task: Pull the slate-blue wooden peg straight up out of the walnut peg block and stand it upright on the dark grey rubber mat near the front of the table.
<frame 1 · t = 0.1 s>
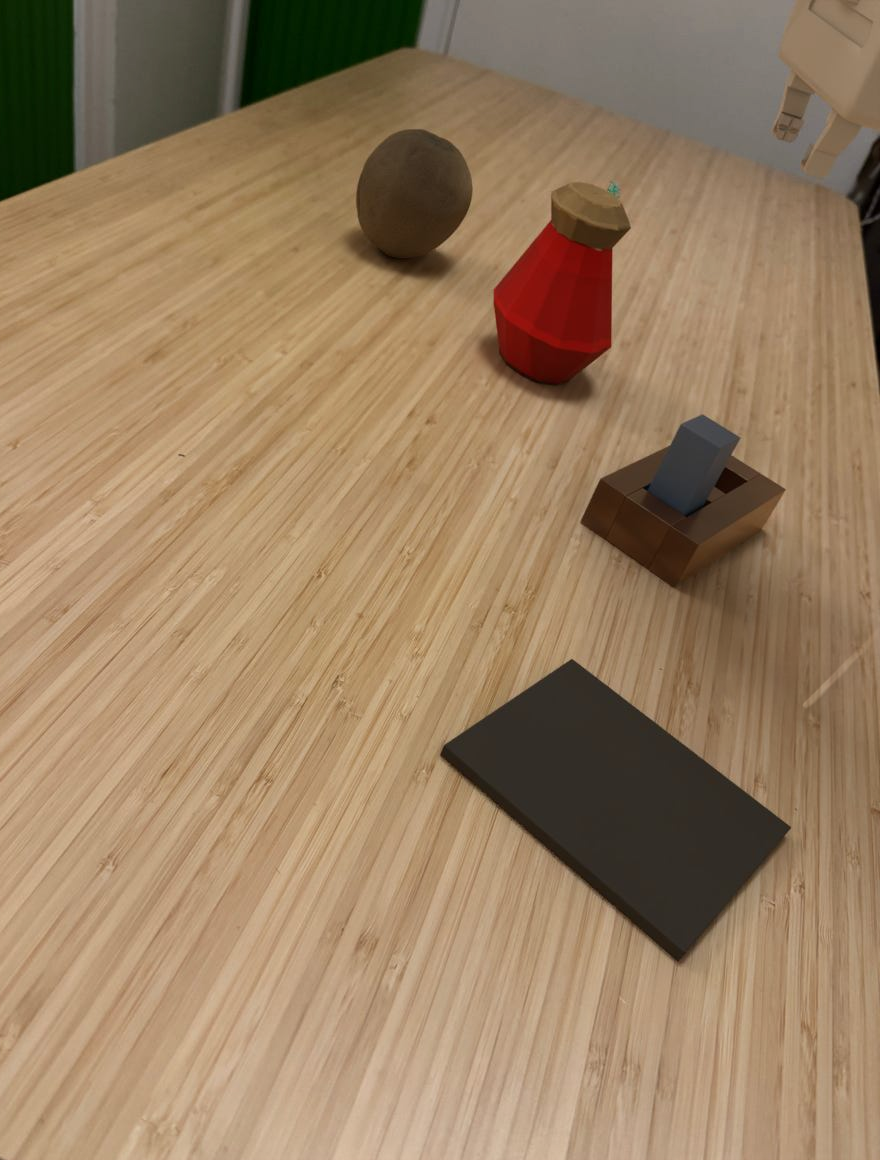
hand: (795, 155, 81), 34 cm above the table, tool pointing down, fingers open, 8 cm apart
peg block: (674, 525, 103), on the table
anatomy model: (589, 206, 176), on the table
cantaloupe: (397, 254, 137), on the table
bottle: (533, 365, 122), on the table
peg: (655, 537, 100), resting in peg block
mat: (615, 795, 72), on the table
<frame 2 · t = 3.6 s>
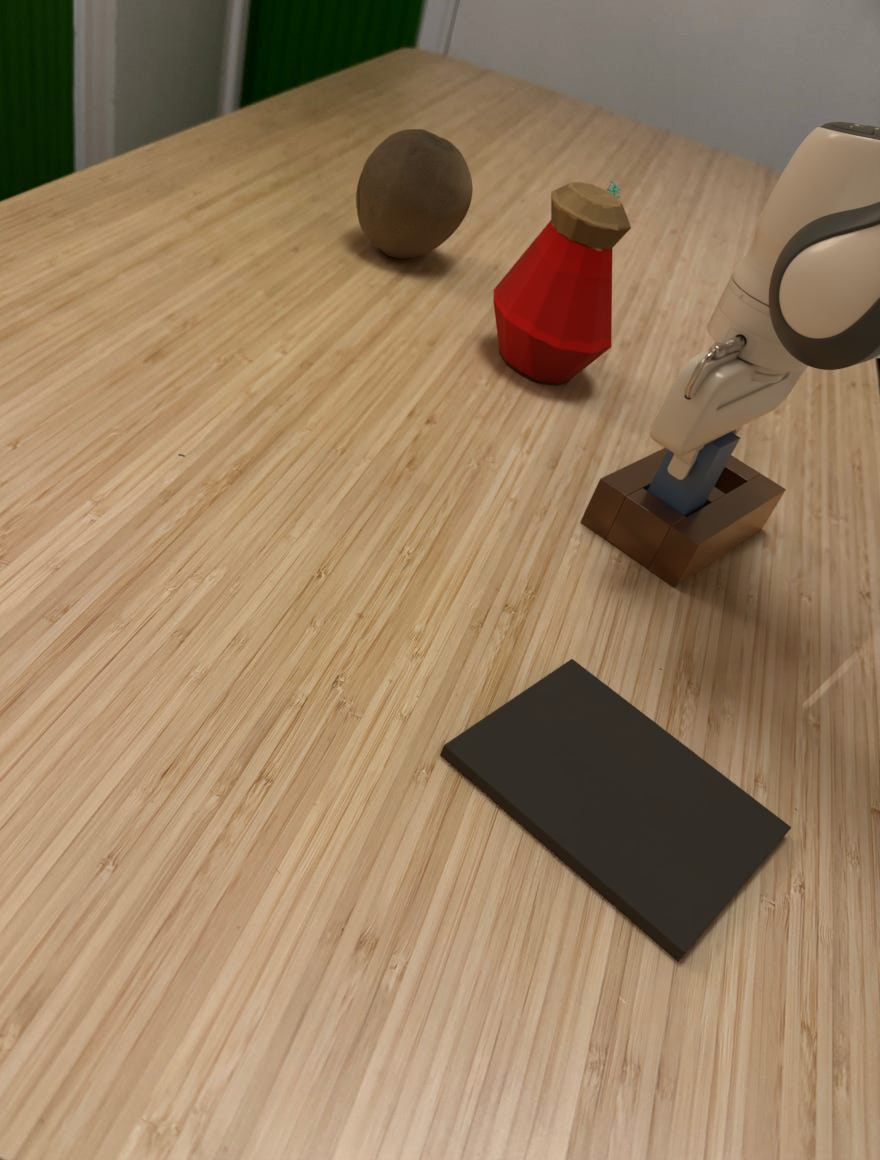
hand: (692, 467, 95), 8 cm above the table, tool pointing down, fingers closed on peg, 4 cm apart
peg: (655, 537, 100), resting in peg block, touching gripper
everything else where it was.
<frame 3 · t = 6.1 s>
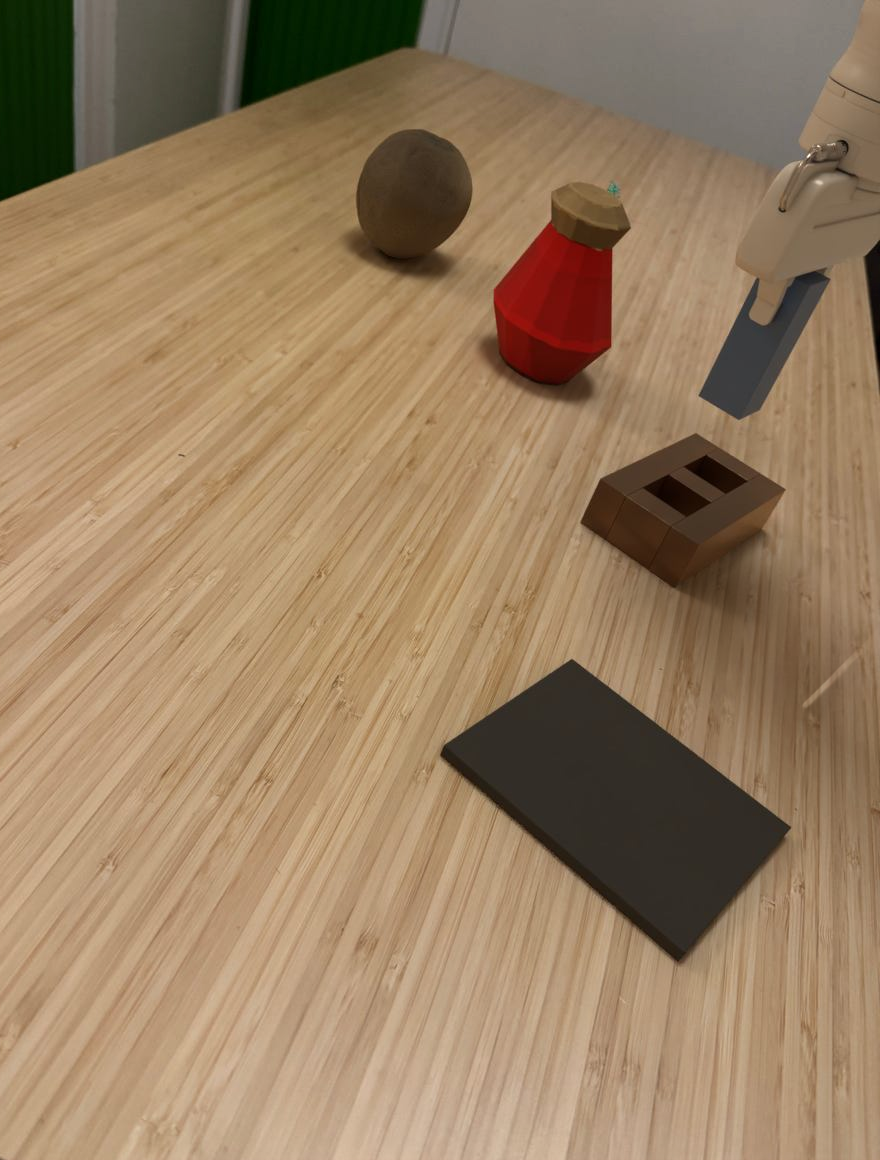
hand: (774, 316, 84), 23 cm above the table, tool pointing down, fingers closed on peg, 4 cm apart
peg: (729, 403, 90), point 15 cm above the table, touching gripper
everything else where it was.
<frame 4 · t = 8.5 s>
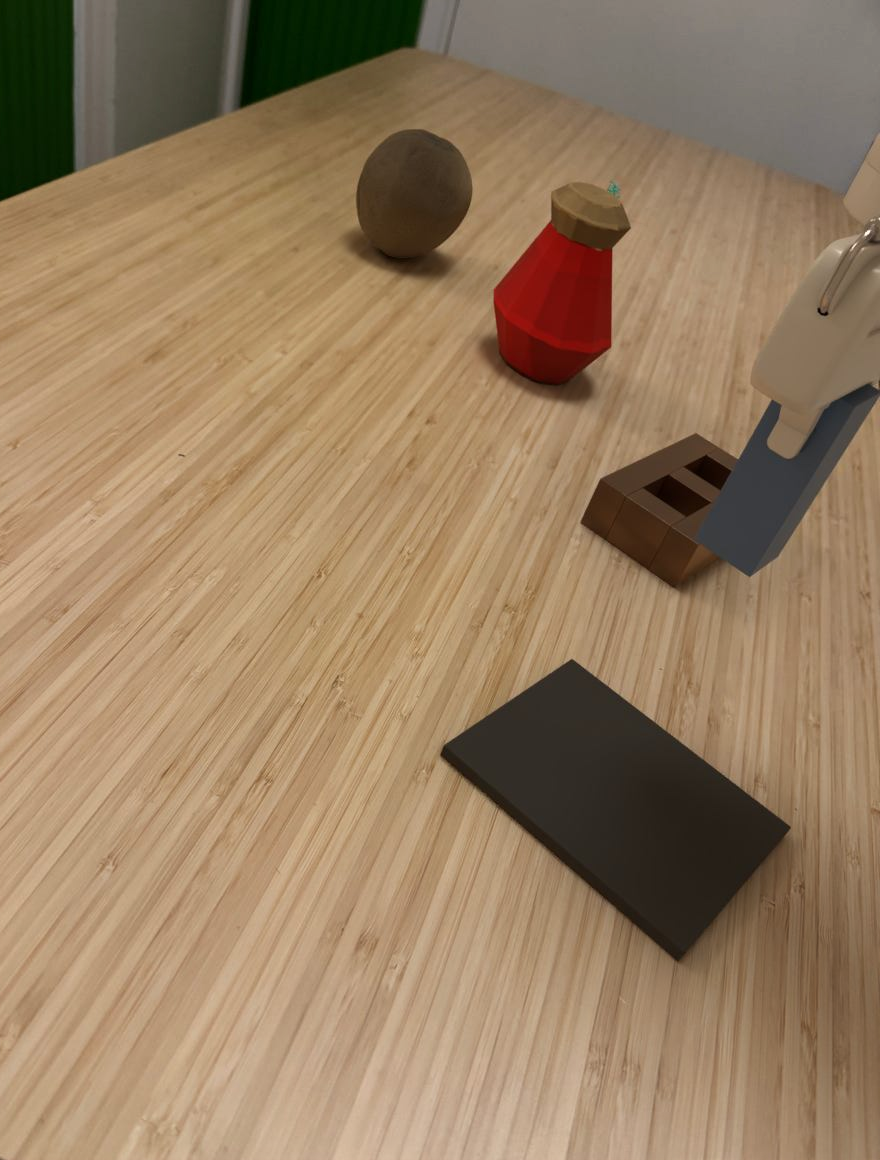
hand: (802, 439, 60), 26 cm above the table, tool pointing down, fingers closed on peg, 4 cm apart
peg: (736, 548, 65), point 18 cm above the table, touching gripper
everything else where it was.
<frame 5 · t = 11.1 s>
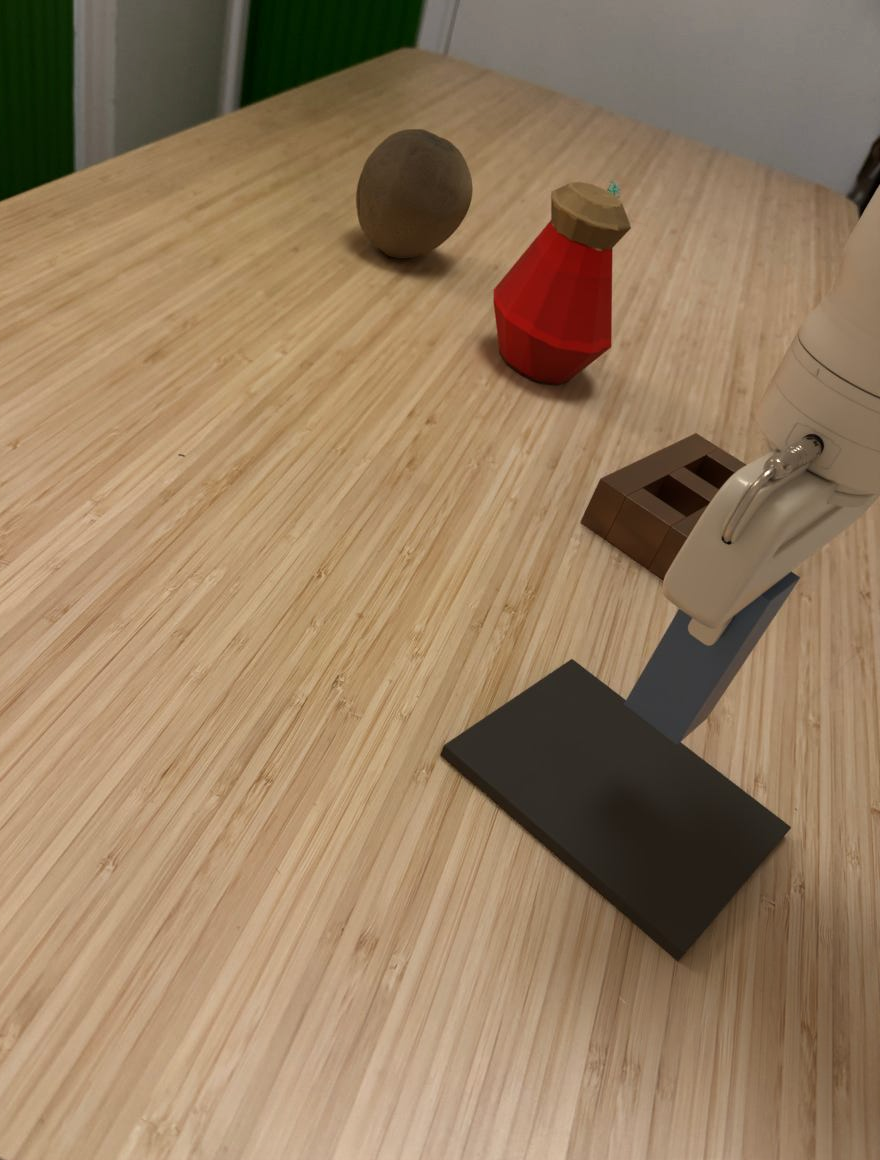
hand: (724, 618, 62), 17 cm above the table, tool pointing down, fingers closed on peg, 4 cm apart
peg: (665, 711, 67), point 9 cm above the table, touching gripper
everything else where it was.
when the fingers open (9 cm above the table, at t = 13.3 s): peg stays where it is, resting on mat.
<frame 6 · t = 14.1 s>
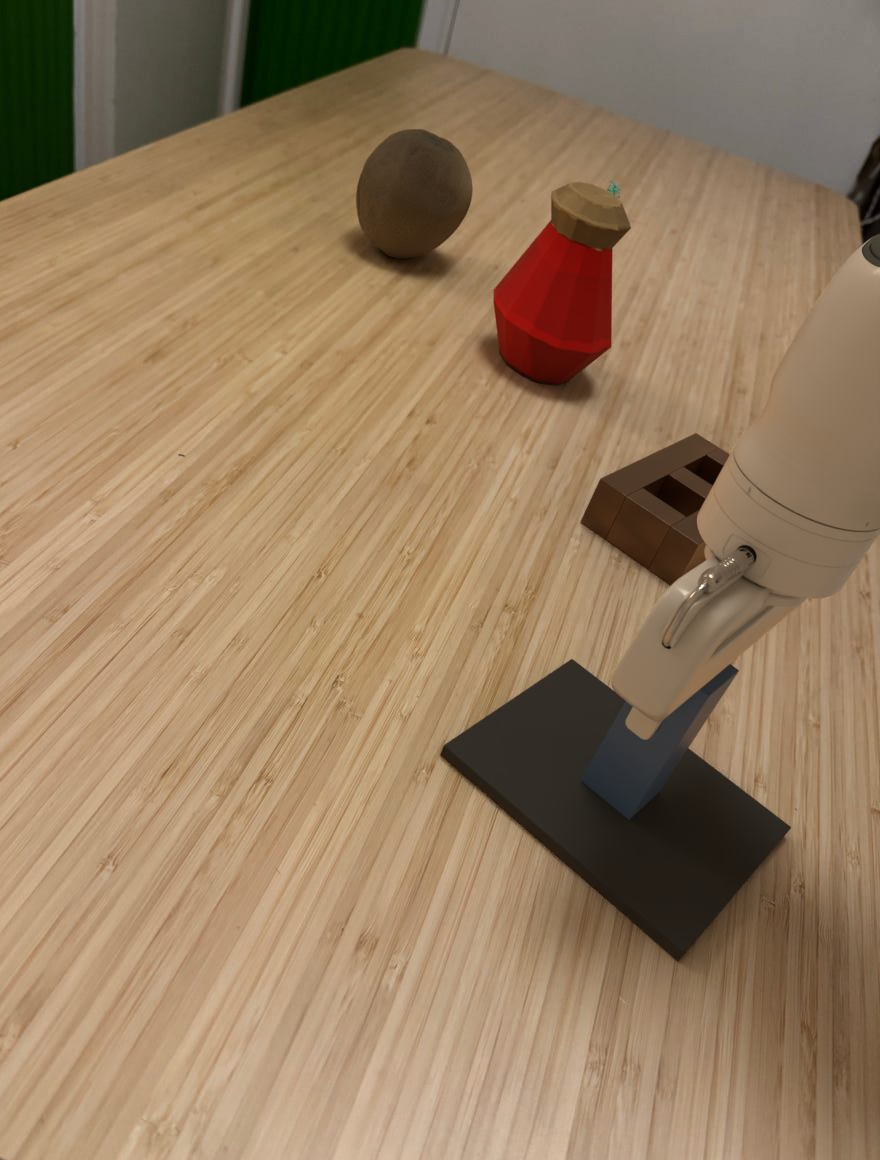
hand: (677, 698, 66), 10 cm above the table, tool pointing down, fingers open, 8 cm apart
peg: (619, 786, 72), point 1 cm above the table, touching mat
everything else where it was.
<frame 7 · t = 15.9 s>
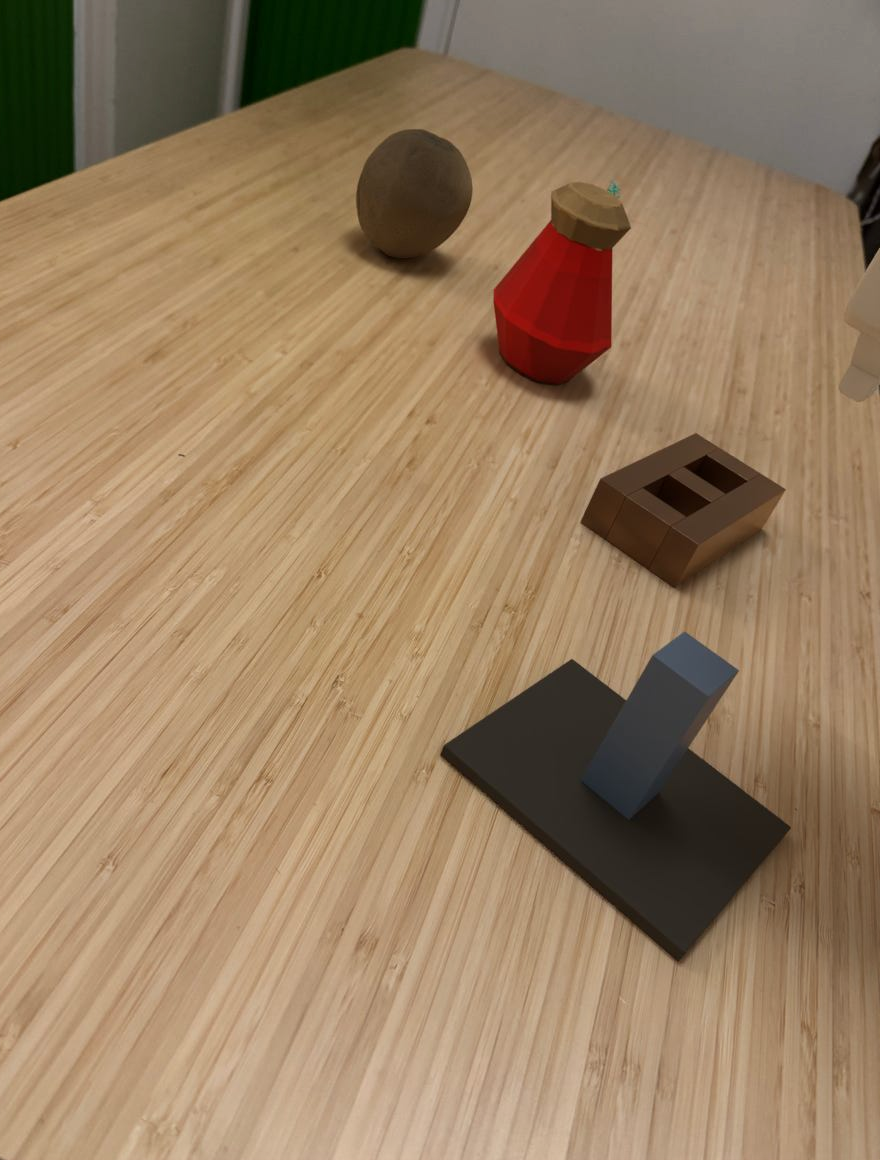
nothing on the table moved.
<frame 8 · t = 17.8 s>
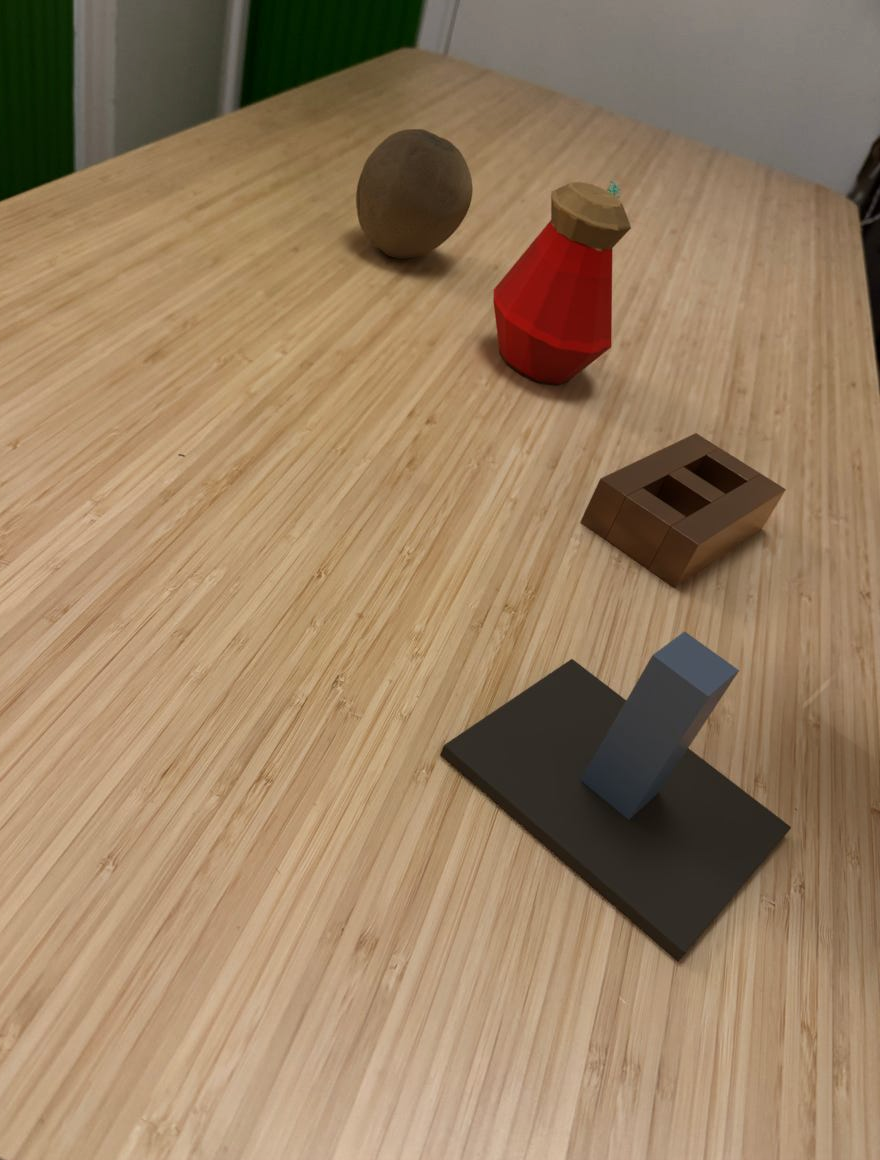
nothing on the table moved.
at the end: peg inside the target area on the mat (0.1 cm from its centre), point 1.0 cm above the mat's base; peg tilted 0°; the gripper is holding nothing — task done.
